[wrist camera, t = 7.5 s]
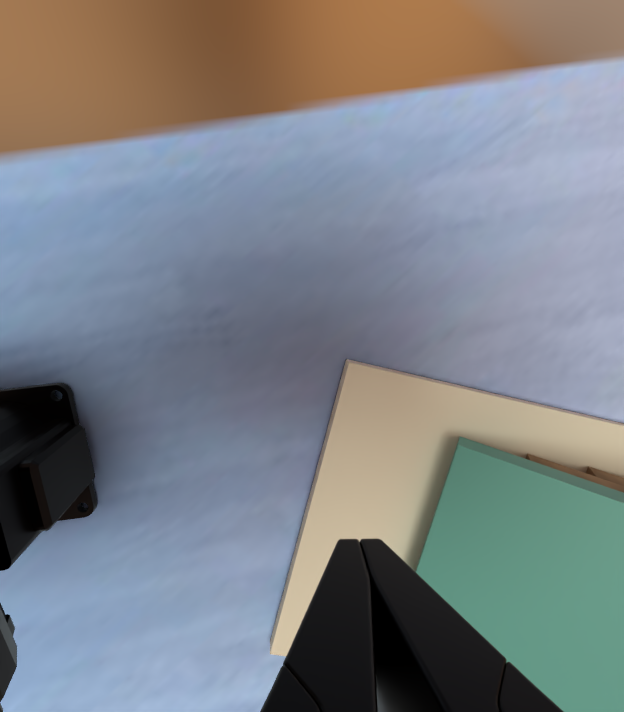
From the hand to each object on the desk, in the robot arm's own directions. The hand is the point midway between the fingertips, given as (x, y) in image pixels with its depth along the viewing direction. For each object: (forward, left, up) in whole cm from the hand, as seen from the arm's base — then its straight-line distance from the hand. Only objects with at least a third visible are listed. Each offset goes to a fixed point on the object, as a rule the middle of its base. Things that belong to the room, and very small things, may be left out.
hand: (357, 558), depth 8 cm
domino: (+5, -8, -11) cm, 14 cm away
